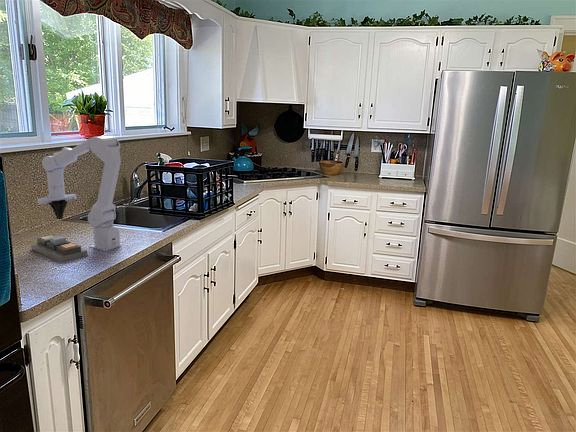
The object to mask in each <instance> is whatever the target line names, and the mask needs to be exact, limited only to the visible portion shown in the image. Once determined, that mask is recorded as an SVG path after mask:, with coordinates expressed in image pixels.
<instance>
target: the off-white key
mask: <svg viewBox="0 0 576 432" xmlns="http://www.w3.org/2000/svg"><path fill="white" fill-rule="evenodd" d="M54 236H55V235H53V236H52V234H51V235H47V236H42V237H40V238H41V240H44V241H48V240H50V238H52V237H54Z"/></svg>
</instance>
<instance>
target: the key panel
mask: <svg viewBox="0 0 576 432" xmlns="http://www.w3.org/2000/svg"><path fill="white" fill-rule="evenodd" d="M51 235H52V234H51ZM52 236H54V237H56V235H54V234H53V235H52ZM69 243H72V244H75V245H77V247H73V248H69V249H63V248H61V247H60V246H61V245H65V244H69ZM30 246H31V250H33V251H35V252H37V253H39V254H41V255H43V256H46V257H48V258H50V259H52V260H55V261H57V262H59V263H64V262H67V261H73V260H75V259H79V258H83V257H87V256H88V250H87V249H85V248H82V246H81V245H78V244H76V243H74V242H71V241H69V240H66V243H62V244H58V245H54V244H52V243H50V240H48V241H44V240H41V237H37V238H36V243H32V244H31V245H30Z"/></svg>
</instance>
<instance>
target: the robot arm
mask: <svg viewBox="0 0 576 432" xmlns="http://www.w3.org/2000/svg"><path fill="white" fill-rule="evenodd" d="M120 149H121V143H120V141H119V140H118V139H117V138H116V137H115V136H114V135H107V136H106V135H105V136H92V137H90V138H88V139H86V140H84V141H82V142H81V143H79V144H78V145H76V146H74V147H73V148H71V147H66V146H65V147H62V148H61V150H60V151H57V152H54V153H53V155H46V156H45V157H44V158H43V159H42V161H41V165H42V167H43V169H44V170H45V171H46V179H47V188H48V196H45V197H41V198H37V204H38V205H43V204H48V205H49V206H50V207H51V209H52V210H53V212H54V214H55V217H56V219H57V220H63V218H64V212H65V210H66V207H67V205H68V201H69V200H77V194H76V193H71V194H70V193H68V194H66V191H65V190H66V189H65V179H64V173H65V168H66V166H68V165H70V164H72V163H75V162H76V161H77V160H78V157H79V156H82V155H84V154H86V153H88V152H92V153H93V154H94V155H95V156H96V157H97V158H98V159H100V160H101V161H102V162H103V163H104V166H103V170H102V175H101V180H100V185H99V191H98V194H97V195H98V196H97V198H96V199H97V200H96V202H95V203H94V204H93V205H92V207H91V210H90V212H89V213H88V214H87V221H88V223H89V224H90V225H91V227H92V230H93V244H91V245H89V247H90V248H93V249H97V250H100V251H110V250H113V249H116V248H119V247H122V246H123V244H121V238H120V231H119V228H117V227H116V226H114V225H113V224H114V220H116V218H117V217H116V216H117V214H116V213H117V212H116V208H117V206H116V205H115V203H114V204H113V201H114V196H115V193H116V192H115V191H116V189H117V188H116V187H117V184H118V177H119V173H120V169H121V164H122V159H121V153H120V151H121V150H120Z"/></svg>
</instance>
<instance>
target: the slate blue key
mask: <svg viewBox="0 0 576 432" xmlns="http://www.w3.org/2000/svg"><path fill="white" fill-rule="evenodd" d="M55 236H56V235H55ZM66 241H67V237H65V236H62V235H57V236H56V237H52V238H50V243H52V244H54V245H58V244H62V243H66Z"/></svg>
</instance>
